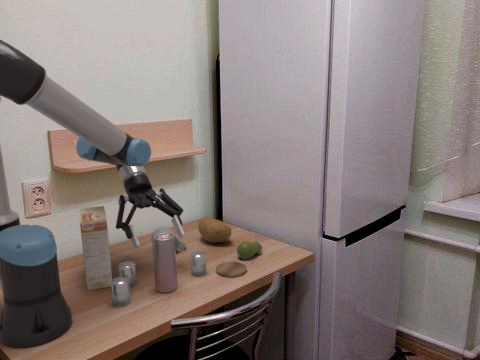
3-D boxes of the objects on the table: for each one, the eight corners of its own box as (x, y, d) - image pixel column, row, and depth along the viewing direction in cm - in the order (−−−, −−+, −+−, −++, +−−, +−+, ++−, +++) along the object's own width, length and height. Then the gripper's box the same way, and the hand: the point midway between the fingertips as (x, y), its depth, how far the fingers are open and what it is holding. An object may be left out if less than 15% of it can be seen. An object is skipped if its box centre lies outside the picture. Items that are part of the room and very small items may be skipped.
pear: (234, 241, 135) (253, 238, 143) (232, 257, 135) (251, 253, 143) (247, 245, 131) (266, 241, 139) (246, 262, 132) (265, 257, 139)
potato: (219, 250, 142) (218, 227, 141) (192, 240, 152) (191, 219, 150) (239, 242, 149) (239, 221, 147) (212, 233, 159) (212, 213, 157)
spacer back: (117, 287, 117) (115, 267, 116) (124, 280, 121) (123, 260, 120) (132, 288, 116) (130, 268, 115) (139, 281, 121) (137, 261, 119)
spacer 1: (109, 305, 107) (107, 283, 106) (118, 297, 112) (116, 276, 110) (125, 307, 106) (124, 285, 105) (133, 298, 111) (132, 277, 109)
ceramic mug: (159, 257, 137) (158, 235, 136) (151, 249, 144) (150, 228, 142) (189, 251, 142) (189, 229, 141) (180, 244, 149) (179, 223, 148)
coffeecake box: (85, 269, 129) (79, 208, 125) (110, 266, 131) (104, 205, 127) (86, 291, 115) (79, 222, 111) (113, 286, 118) (107, 219, 114)
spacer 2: (189, 276, 123) (188, 256, 122) (194, 269, 128) (193, 251, 126) (203, 277, 123) (203, 257, 121) (208, 270, 127) (207, 251, 126)
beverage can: (154, 285, 118) (150, 234, 115) (175, 282, 120) (172, 231, 116) (156, 295, 112) (153, 241, 109) (179, 291, 114) (176, 238, 111)
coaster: (212, 276, 123) (212, 273, 123) (220, 263, 132) (220, 260, 131) (243, 278, 121) (243, 275, 121) (248, 265, 130) (248, 262, 130)
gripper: (169, 181, 137) (194, 238, 128) (91, 193, 122) (114, 259, 114) (176, 167, 131) (203, 226, 123) (95, 179, 117) (120, 246, 109)
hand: (160, 242), depth 119 cm, fingers open, 13 cm apart
